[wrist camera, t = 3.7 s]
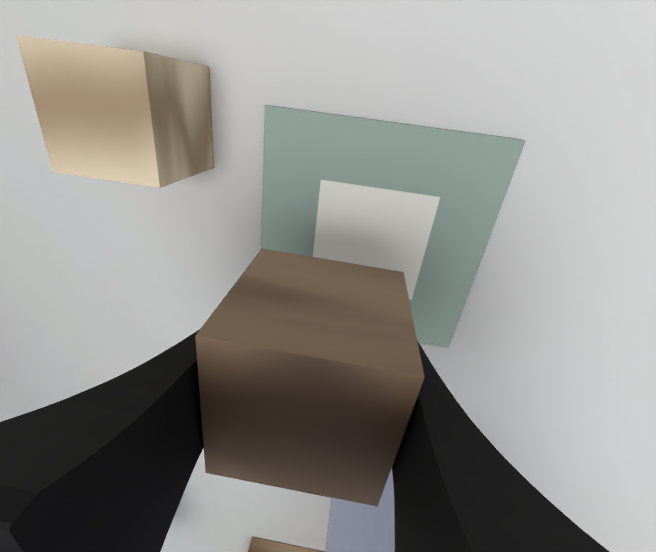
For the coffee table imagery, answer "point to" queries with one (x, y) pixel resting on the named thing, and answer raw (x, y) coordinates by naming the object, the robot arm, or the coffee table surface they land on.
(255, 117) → the coffee table surface
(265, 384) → the walnut block
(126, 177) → the maple block
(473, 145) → the build mat
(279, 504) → the coffee table surface
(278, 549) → the camera crate
